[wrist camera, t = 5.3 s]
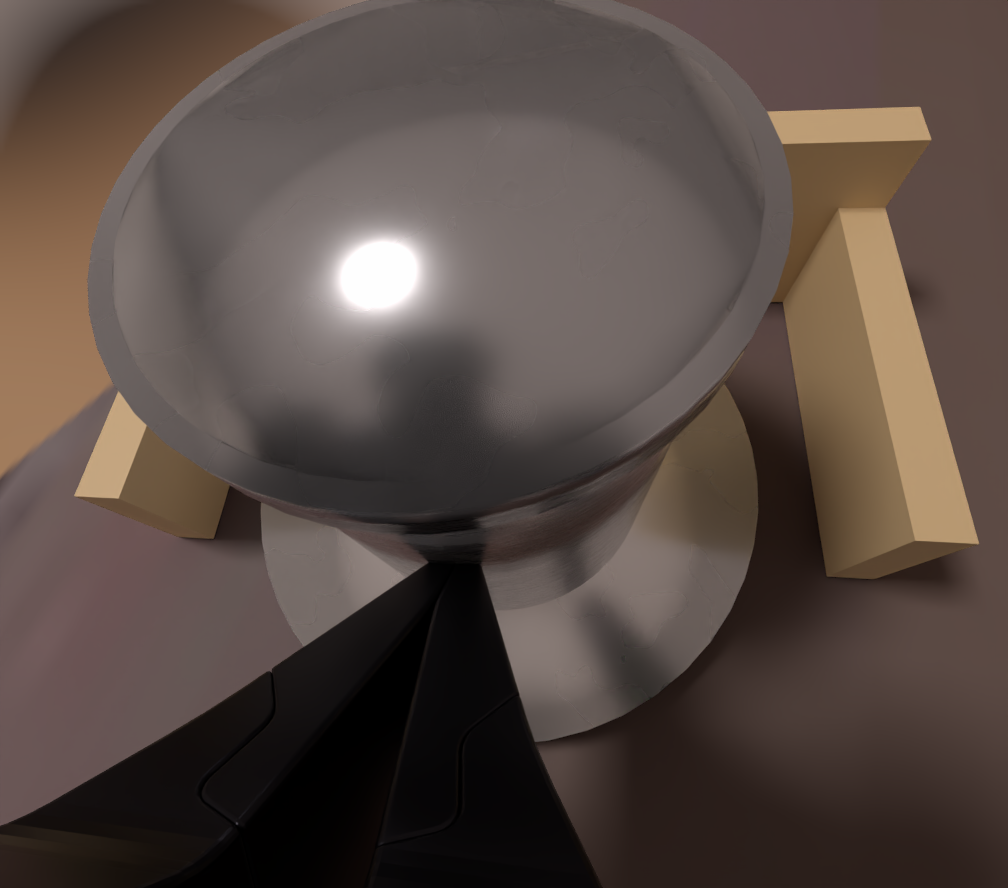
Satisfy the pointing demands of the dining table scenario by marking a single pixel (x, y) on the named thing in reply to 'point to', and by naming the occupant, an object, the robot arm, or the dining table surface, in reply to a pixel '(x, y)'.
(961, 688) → the dining table surface
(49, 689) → the dining table surface
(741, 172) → the door knob
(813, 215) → the tan wooden u-frame
